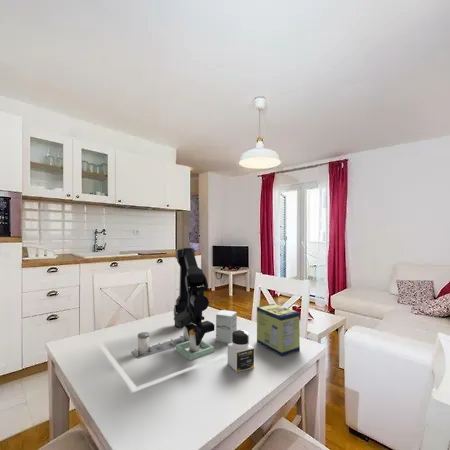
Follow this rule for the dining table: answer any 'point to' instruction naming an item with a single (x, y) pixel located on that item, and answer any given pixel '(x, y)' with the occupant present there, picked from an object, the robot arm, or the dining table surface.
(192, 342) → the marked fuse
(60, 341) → the dining table surface
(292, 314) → the protein box
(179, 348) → the tray
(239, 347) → the medicine bottle
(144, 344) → the block
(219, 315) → the supplement box
